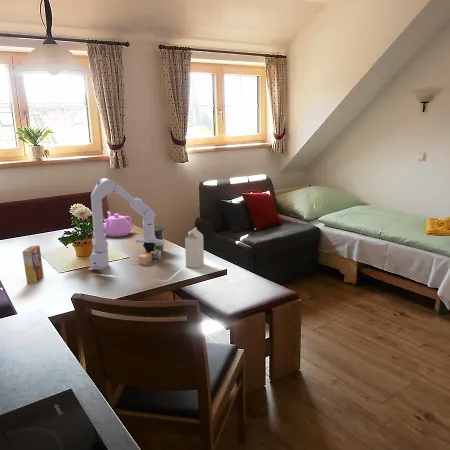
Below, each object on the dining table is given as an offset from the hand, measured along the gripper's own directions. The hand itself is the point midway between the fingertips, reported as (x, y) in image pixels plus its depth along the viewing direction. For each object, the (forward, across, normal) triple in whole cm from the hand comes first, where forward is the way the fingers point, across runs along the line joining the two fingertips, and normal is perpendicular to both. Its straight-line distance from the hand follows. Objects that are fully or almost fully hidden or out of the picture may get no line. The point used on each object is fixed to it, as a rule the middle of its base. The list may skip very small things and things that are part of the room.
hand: (150, 256), depth 219 cm
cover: (+1, 0, +6) cm, 7 cm away
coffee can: (+2, +3, -12) cm, 12 cm away
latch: (+1, -4, +2) cm, 4 cm away
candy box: (+2, +39, +40) cm, 55 cm away
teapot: (+2, +44, -45) cm, 63 cm away
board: (+2, 0, +4) cm, 4 cm away
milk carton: (+2, -25, +3) cm, 26 cm away
